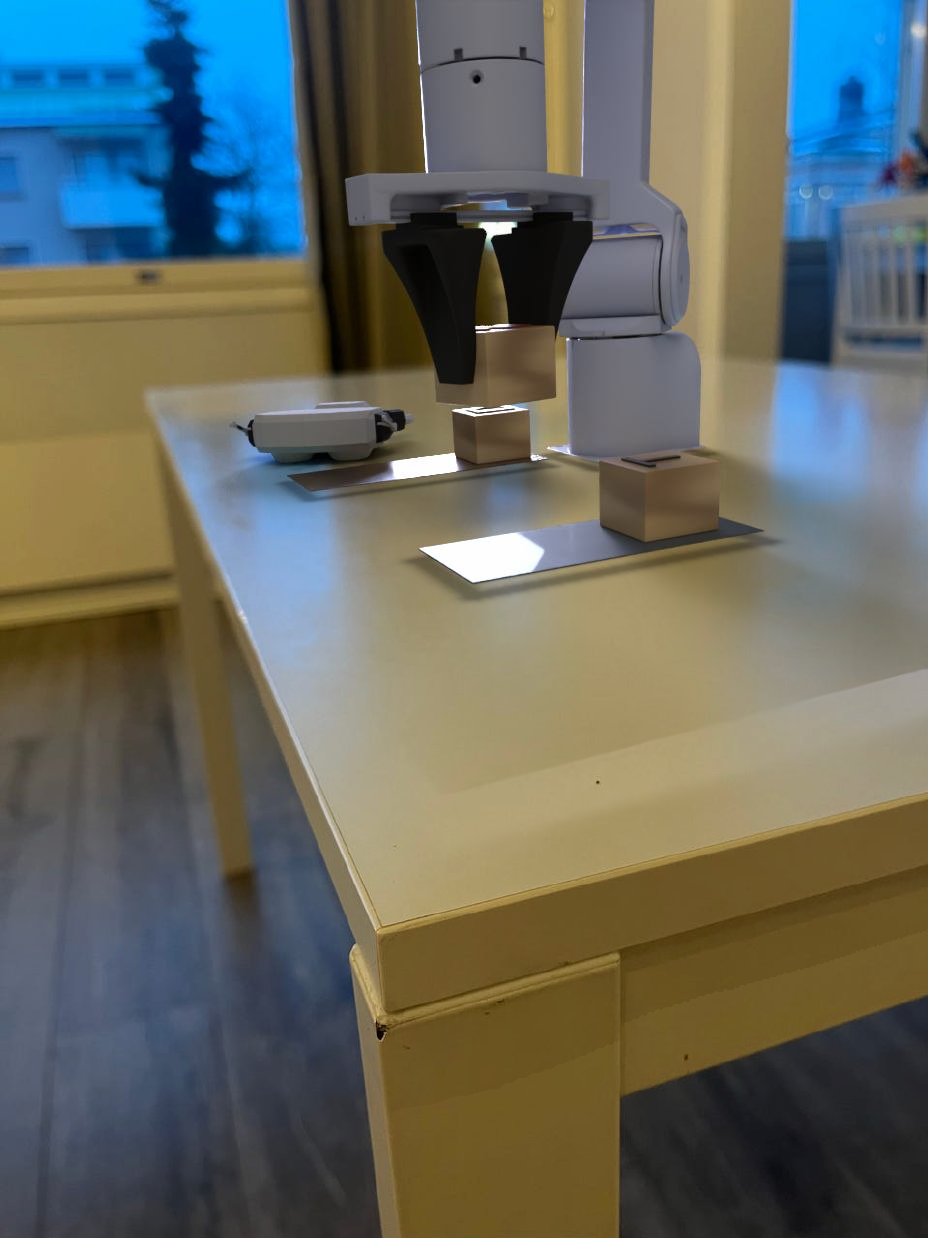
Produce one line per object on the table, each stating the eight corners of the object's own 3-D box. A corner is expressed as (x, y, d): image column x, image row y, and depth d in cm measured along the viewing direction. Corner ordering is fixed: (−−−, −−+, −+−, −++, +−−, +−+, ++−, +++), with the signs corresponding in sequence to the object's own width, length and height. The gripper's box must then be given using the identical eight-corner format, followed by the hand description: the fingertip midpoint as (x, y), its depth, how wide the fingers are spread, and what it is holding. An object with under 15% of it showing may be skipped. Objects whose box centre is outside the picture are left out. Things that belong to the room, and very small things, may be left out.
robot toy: (291, 453, 88) (230, 473, 73) (287, 403, 86) (224, 413, 72) (423, 449, 86) (386, 468, 71) (420, 397, 85) (382, 406, 70)
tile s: (501, 393, 51) (498, 323, 50) (557, 397, 48) (555, 323, 47) (435, 403, 49) (430, 329, 48) (489, 408, 46) (485, 329, 44)
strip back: (508, 453, 76) (508, 446, 76) (549, 466, 70) (549, 458, 70) (287, 482, 70) (286, 474, 70) (311, 499, 64) (309, 491, 64)
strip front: (682, 515, 54) (682, 504, 54) (764, 541, 48) (764, 529, 48) (418, 559, 49) (417, 548, 48) (473, 596, 42) (472, 583, 42)
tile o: (506, 449, 75) (504, 402, 74) (531, 457, 71) (529, 408, 70) (454, 456, 73) (451, 408, 72) (477, 464, 69) (474, 414, 68)
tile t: (669, 513, 52) (669, 447, 51) (719, 530, 48) (721, 458, 47) (598, 525, 51) (598, 457, 49) (645, 543, 47) (645, 470, 46)
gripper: (541, 99, 51) (548, 362, 55) (299, 78, 43) (330, 390, 47) (641, 71, 45) (639, 366, 50) (386, 42, 37) (412, 397, 42)
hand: (495, 378), depth 48 cm, fingers closed on tile s, 4 cm apart
